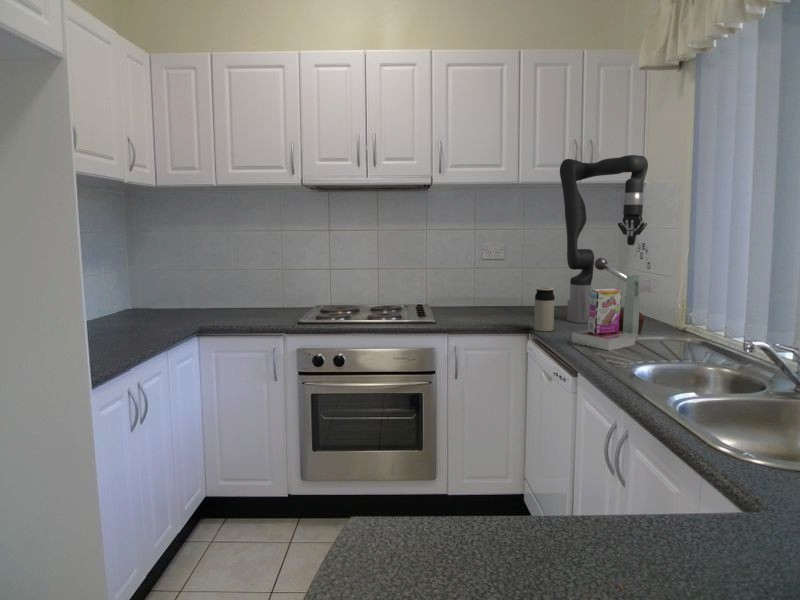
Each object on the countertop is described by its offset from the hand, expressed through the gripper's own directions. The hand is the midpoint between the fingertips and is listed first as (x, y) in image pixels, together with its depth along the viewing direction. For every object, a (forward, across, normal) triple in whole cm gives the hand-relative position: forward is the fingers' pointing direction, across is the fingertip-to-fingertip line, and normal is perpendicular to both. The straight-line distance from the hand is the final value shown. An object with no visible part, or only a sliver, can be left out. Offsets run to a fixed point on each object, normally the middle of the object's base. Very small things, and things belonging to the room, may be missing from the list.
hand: (631, 245), depth 238 cm
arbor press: (+36, +15, -32) cm, 50 cm away
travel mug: (+36, -16, -34) cm, 52 cm away
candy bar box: (+32, +15, -37) cm, 51 cm away
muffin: (+36, +8, -11) cm, 38 cm away
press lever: (+17, +12, -21) cm, 30 cm away
